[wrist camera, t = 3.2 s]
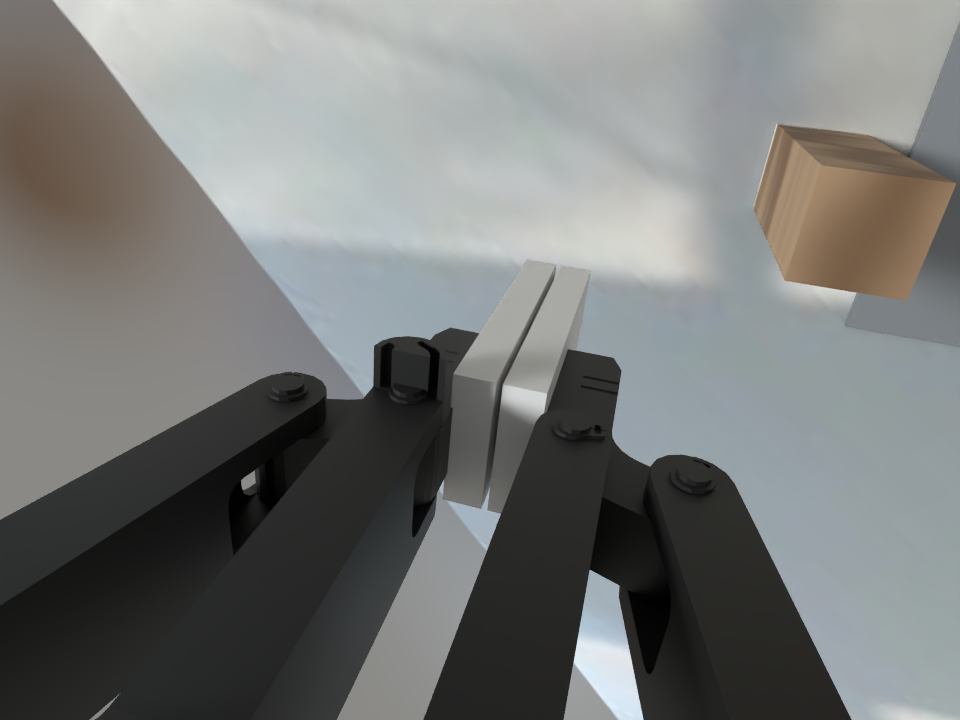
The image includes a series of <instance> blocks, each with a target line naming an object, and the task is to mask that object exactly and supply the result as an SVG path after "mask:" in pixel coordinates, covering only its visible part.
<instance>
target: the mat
mask: <svg viewBox="0 0 960 720" xmlns="http://www.w3.org/2000/svg"><path fill="white" fill-rule="evenodd" d="M909 158H911V159H913V160H914V161H916V162H918V163H920V164H922V165H923V166H925V167H927V168H929V169H931V170H933V171H934V172H936V173H938V174H940V175H942V176H944V177H945V178H947V179H949V180H951V181H953V182H955V183H956V186H955V188H954V191H953V193H952V196H951V198H950V200H949V203H948V205H947V207H946V210H945V212H944V215H943V217H942V219H941V222H940V224H939V226H938V229H937V231H936V234H935V236H934V238H933V241H932V243H931V245H930V248H929V250H928V253H927V255H926V257H925V260H924V262H923V265H922V267H921V269H920V272H919V274H918V276H917V279H916V281H915V284H914V286H913V288H912V291H911V293H910V295H909V298H908V300H907V301H905V300H899V299H893V298H887V297H881V296H875V295H869V294H863V293H857V294H856V297H855V300H854V302H853V305H852V307H851V310H850V313H849V315H848V318H847V321H846V323H845V325H846V327H850V328H856V329H862V330H867V331H873V332H879V333H884V334H890V335H896V336H902V337H907V338H913V339H919V340H924V341H930V342H936V343H941V344H947V345H953V346H958V347H960V23H959V26H958V29H957V31H956V34H955V36H954V39H953V42H952V44H951V47H950V50H949V52H948V55H947V58H946V60H945V63H944V65H943V68H942V71H941V73H940V76H939V79H938V81H937V84H936V86H935V89H934V92H933V94H932V97H931V100H930V102H929V105H928V108H927V110H926V113H925V115H924V118H923V121H922V123H921V126H920V129H919V131H918V134H917V136H916V139H915V142H914V144H913V147H912V150H911V152H910V155H909Z"/></svg>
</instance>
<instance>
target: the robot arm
mask: <svg viewBox="0 0 960 720" xmlns="http://www.w3.org/2000/svg"><path fill="white" fill-rule="evenodd" d="M555 270H556V264H550V263H544V262H538V261H533V260H527V261H526V262H525V264H524V265H523V267H522V268H521V270H520V271H519V273H518V275H517V276H516V278H515V279H514V281H513V282H512V284H511V285H510V287H509V288H508V290H507V292H506V293H505V295H504V296H503V298H502V299H501V301H500V302H499V304H498V305H497V307H496V309H495V310H494V312H493V313H492V315H491V316H490V318H489V319H488V321H487V322H486V324H485V326H484V327H483V329H482V330H481V332H480V333H475V332H470V331H464V330H459V329H454V328H449V329H447V330H444V331H442V332H440V333H438V334H436V335H434V336H433V338H432V339H431V340H428V339H424V338H419V337H409V336H406V337H394V338H390V339H386V340H383V341H381V342H379V343H378V344H376V345H375V346H374V385H373V388H372V389H371V390H370V391H369V393H368V394H367V395H366V396H365V397H364V399H358V400H340V399H327V397H326V396H327V394H326V387H325V385H324V383H323V382H322V381H321V380H319V379H317V378H315V377H314V376H310V375H306V374H302V373H297V372H294V373H292V372H285V373H281V374H275V375H271V376H268V377H266V378H263V379H260V380H258V381H256V382H254V383H253V384H251V385H249V386H247V387H245V388H243V389H241V390H240V391H238V392H236V393H234V394H232V395H230V396H228V397H227V398H225V399H223V400H221V401H219V402H217V403H216V404H214V405H212V406H210V407H208V408H206V409H205V410H203V411H201V412H199V413H197V414H195V415H193V416H191V417H190V418H188V419H186V420H184V421H182V422H180V423H179V424H177V425H175V426H173V427H171V428H169V429H167V430H166V431H164V432H162V433H160V434H158V435H156V436H154V437H153V438H151V439H150V440H147V441H145V442H143V443H142V444H140V445H138V446H136V447H134V448H132V449H130V450H129V451H127V452H125V453H123V454H122V455H119V456H118V457H116V458H114V459H112V460H110V461H108V462H106V463H105V464H103V465H101V466H99V467H97V468H95V469H94V470H92V471H90V472H88V473H86V474H84V475H82V476H81V477H79V478H77V479H75V480H73V481H71V482H69V483H68V484H66V485H64V486H62V487H60V488H58V489H57V490H55V491H53V492H51V493H49V494H47V495H46V496H44V497H42V498H40V499H38V500H36V501H35V502H32V503H31V504H29V505H27V506H25V507H23V508H21V509H20V510H18V511H16V512H14V513H12V514H10V515H8V516H7V517H5V518H3V519H1V520H0V720H89V719H90V718H92V717H93V716H94V715H95V714H96V713H98V712H99V711H100V710H101V709H102V708H103V707H104V706H105V705H107V704H108V703H109V702H110V701H111V700H113V699H114V698H115V697H116V696H117V695H118V694H119V696H118V697H117V698H116V699H115V700H114V702H113V703H112V704H111V705H110V707H109V708H108V709H107V710H106V711H105V712H104V713H103V714H102V715H101V716H100V717H99V718H97V719H95V720H337V718H338V716H339V714H340V711H341V709H342V707H343V705H344V703H345V701H346V699H347V697H348V695H349V693H350V691H351V689H352V687H353V684H354V682H355V680H356V678H357V676H358V674H359V671H360V670H361V668H362V666H363V664H364V661H365V659H366V657H367V655H368V653H369V651H370V649H371V647H372V645H373V643H374V640H375V638H376V636H377V634H378V632H379V630H380V628H381V626H382V624H383V622H384V620H385V618H386V616H387V614H388V611H389V609H390V607H391V605H392V603H393V601H394V599H395V597H396V595H397V593H398V590H399V589H400V587H401V584H402V582H403V580H404V578H405V576H406V574H407V572H408V570H409V568H410V566H411V564H412V562H413V560H414V557H415V555H416V553H417V551H418V549H419V547H420V545H421V543H422V541H423V539H424V537H425V534H426V532H427V530H428V528H429V526H430V524H431V522H432V520H433V518H434V515H435V509H436V497H437V492H438V490H439V488H440V486H441V484H442V482H443V480H444V491H443V499H444V500H448V501H452V502H456V503H460V504H464V505H468V506H472V507H476V508H480V509H481V508H482V505H483V503H484V501H485V498H486V496H487V493H488V491H489V488H490V494H489V502H488V510H489V511H493V512H497V513H501V516H500V518H499V521H498V523H497V526H496V529H495V531H494V534H493V537H492V539H491V542H490V545H489V547H488V550H487V553H486V555H485V558H484V561H483V564H482V566H481V569H480V571H479V574H478V577H477V579H476V582H475V584H474V587H473V590H472V593H471V595H470V598H469V600H468V603H467V606H466V608H465V611H464V614H463V616H462V619H461V622H460V624H459V627H458V630H457V632H456V635H455V638H454V640H453V643H452V646H451V648H450V651H449V653H448V656H447V659H446V661H445V664H444V667H443V670H442V672H441V675H440V677H439V680H438V683H437V685H436V688H435V691H434V693H433V696H432V699H431V701H430V704H429V707H428V709H427V712H426V715H425V717H424V720H563V719H564V713H565V708H566V702H567V696H568V690H569V685H570V679H571V673H572V667H573V662H574V656H575V650H576V644H577V639H578V633H579V627H580V621H581V616H582V610H583V604H584V598H585V593H586V587H587V581H588V575H589V570H592V571H594V572H595V573H597V574H599V575H601V576H603V577H605V578H607V579H609V580H610V581H612V582H614V583H616V584H618V585H620V588H619V600H620V605H621V610H622V615H623V620H624V625H625V630H626V634H627V639H628V644H629V649H630V654H631V659H632V664H633V669H634V674H635V679H636V684H637V689H638V694H639V699H640V704H641V709H642V714H643V719H644V720H851V718H850V716H849V714H848V712H847V710H846V708H845V706H844V704H843V702H842V700H841V697H840V695H839V693H838V691H837V689H836V687H835V685H834V683H833V681H832V679H831V677H830V675H829V673H828V671H827V669H826V667H825V665H824V663H823V661H822V659H821V657H820V655H819V653H818V651H817V649H816V647H815V645H814V643H813V641H812V639H811V637H810V635H809V633H808V631H807V629H806V627H805V625H804V623H803V621H802V619H801V617H800V615H799V613H798V611H797V609H796V607H795V605H794V603H793V601H792V599H791V597H790V595H789V593H788V591H787V589H786V587H785V585H784V583H783V580H782V578H781V576H780V574H779V572H778V570H777V568H776V566H775V564H774V562H773V560H772V558H771V556H770V554H769V552H768V550H767V548H766V546H765V544H764V542H763V540H762V538H761V536H760V534H759V532H758V530H757V528H756V526H755V524H754V522H753V520H752V518H751V516H750V514H749V512H748V510H747V508H746V506H745V504H744V502H743V500H742V498H741V496H740V494H739V492H738V490H737V488H736V486H735V484H734V482H733V481H732V480H731V479H730V477H729V476H728V475H727V473H725V472H724V471H722V470H721V469H720V468H718V467H717V466H715V465H714V464H712V463H710V462H707V461H704V460H703V459H700V458H697V457H691V456H686V455H667V456H664V457H662V458H659V459H657V460H656V461H655V462H654V463H653V464H652V465H651V467H650V466H647V465H645V464H643V463H640V462H639V461H637V460H635V459H633V458H631V457H629V456H628V455H627V454H625V453H624V452H623V451H621V449H620V448H619V447H618V446H617V445H616V444H615V442H614V440H613V438H612V427H613V421H614V415H615V408H616V402H617V396H618V389H619V383H620V377H621V369H620V367H619V366H618V364H617V363H616V361H615V360H614V358H611V357H606V356H601V355H596V354H591V353H585V352H580V351H576V350H577V345H578V339H579V333H580V328H581V322H582V316H583V311H584V305H585V300H586V294H587V288H588V283H589V277H590V271H591V270H585V269H579V268H573V267H567V266H562V265H561V266H560V269H559V271H558V273H557V275H556V277H555V279H554V276H555ZM254 470H255V479H256V483H255V484H254V485H252V486H251V487H249V488H248V489H246V490H242V486H241V480H242V479H243V478H244V477H245V476H247V475H248V474H250V473H251V472H253V471H254Z"/></svg>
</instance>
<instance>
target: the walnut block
mask: <svg viewBox="0 0 960 720" xmlns="http://www.w3.org/2000/svg"><path fill="white" fill-rule="evenodd" d="M955 186H956V183H955V182H953V181H951V180H949V179H947V178H945V177H944V176H942V175H940V174H938V173H936V172H934V171H933V170H931V169H929V168H927V167H925V166H923V165H922V164H920V163H918V162H916V161H914V160H913V159H911V158H909V157H907V156H905V155H903V154H902V153H900V152H898V151H896V150H894V149H892V148H891V147H889V146H887V145H885V144H883V143H881V142H880V141H878V140H876V139H874V138H872V137H870V136H869V135H864V134H856V133H848V132H840V131H832V130H824V129H816V128H808V127H800V126H792V125H784V124H776V128H775V131H774V135H773V138H772V142H771V145H770V149H769V152H768V156H767V159H766V163H765V166H764V170H763V174H762V177H761V181H760V184H759V188H758V191H757V195H756V198H755V202H754V205H753V209H754V211H755V213H756V216H757V218H758V220H759V223H760V225H761V227H762V229H763V232H764V234H765V236H766V239H767V241H768V243H769V245H770V248H771V250H772V252H773V255H774V257H775V259H776V262H777V264H778V266H779V268H780V271H781V273H782V275H783V278H784V280H785V281H791V282H797V283H803V284H809V285H815V286H821V287H827V288H833V289H839V290H845V291H851V292H857V293H863V294H869V295H875V296H881V297H887V298H893V299H899V300H905V301H907V300H908V298H909V295H910V293H911V291H912V288H913V286H914V284H915V281H916V279H917V276H918V274H919V272H920V269H921V267H922V265H923V262H924V260H925V257H926V255H927V253H928V250H929V248H930V245H931V243H932V241H933V238H934V236H935V234H936V231H937V229H938V226H939V224H940V222H941V219H942V217H943V215H944V212H945V210H946V207H947V205H948V203H949V200H950V198H951V196H952V193H953V191H954V188H955Z"/></svg>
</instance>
